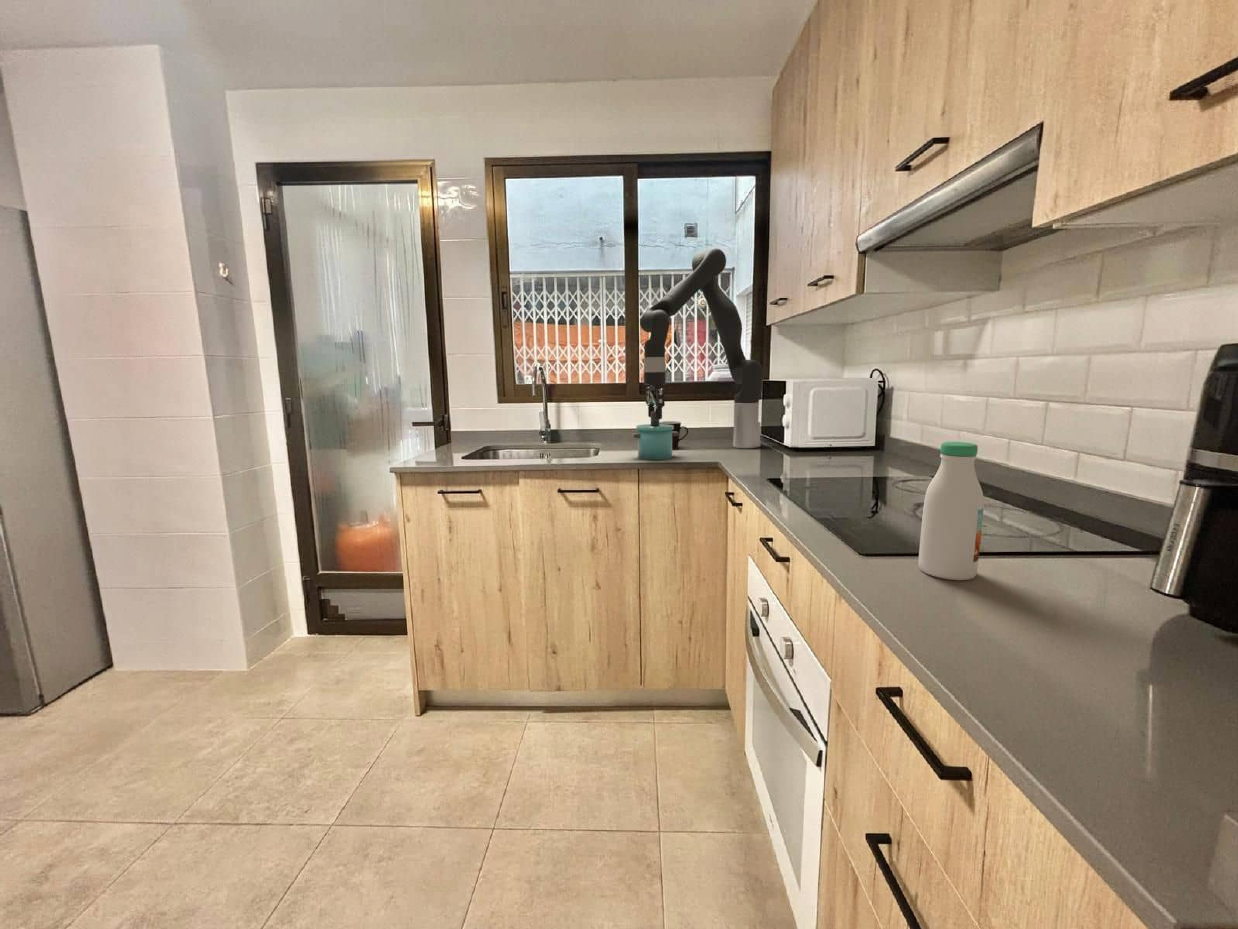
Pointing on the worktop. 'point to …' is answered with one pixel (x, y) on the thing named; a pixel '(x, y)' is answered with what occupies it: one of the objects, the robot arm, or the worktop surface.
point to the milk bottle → (952, 516)
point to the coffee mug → (676, 428)
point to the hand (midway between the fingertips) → (655, 418)
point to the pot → (654, 444)
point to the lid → (654, 425)
